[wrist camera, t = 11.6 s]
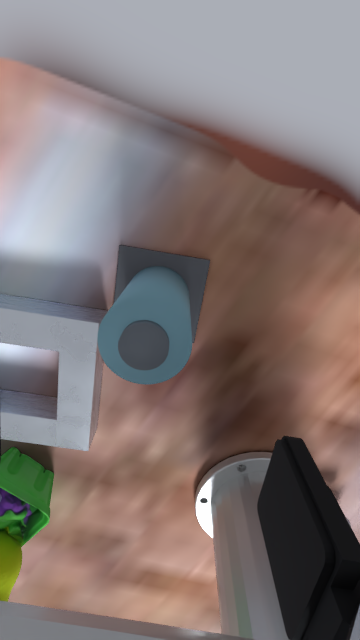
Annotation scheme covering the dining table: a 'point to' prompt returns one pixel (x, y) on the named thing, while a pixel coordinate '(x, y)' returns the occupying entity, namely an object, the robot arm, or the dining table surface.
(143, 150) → the dining table surface
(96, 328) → the frame
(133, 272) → the mat
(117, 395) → the dining table surface
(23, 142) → the dining table surface
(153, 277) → the blue cylinder
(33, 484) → the fruit basket
